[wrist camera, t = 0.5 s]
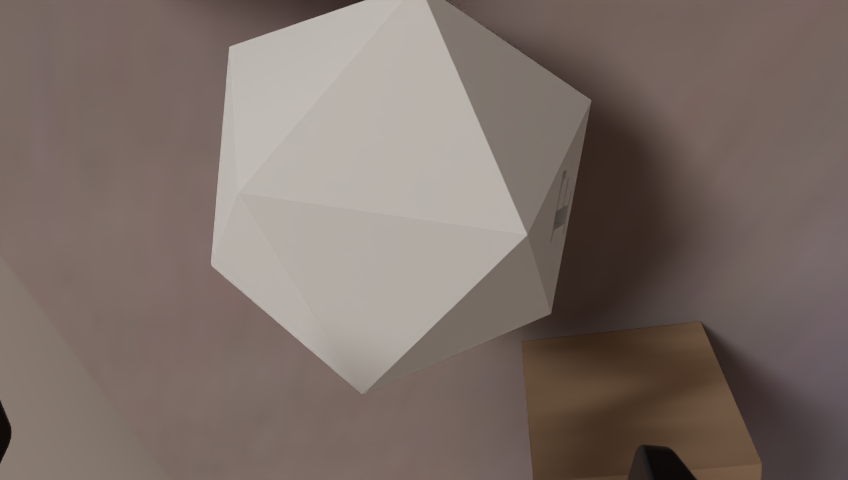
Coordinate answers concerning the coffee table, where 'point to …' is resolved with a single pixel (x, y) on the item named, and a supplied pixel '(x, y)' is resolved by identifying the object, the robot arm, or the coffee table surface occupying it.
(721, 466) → the walnut block
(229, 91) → the die
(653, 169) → the coffee table surface
